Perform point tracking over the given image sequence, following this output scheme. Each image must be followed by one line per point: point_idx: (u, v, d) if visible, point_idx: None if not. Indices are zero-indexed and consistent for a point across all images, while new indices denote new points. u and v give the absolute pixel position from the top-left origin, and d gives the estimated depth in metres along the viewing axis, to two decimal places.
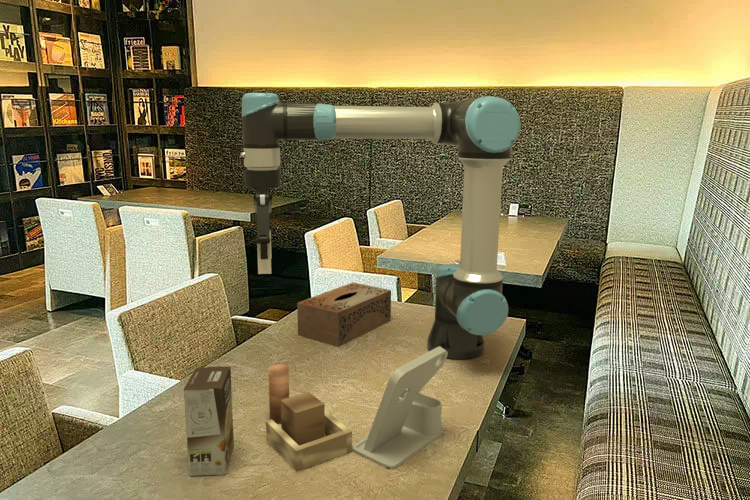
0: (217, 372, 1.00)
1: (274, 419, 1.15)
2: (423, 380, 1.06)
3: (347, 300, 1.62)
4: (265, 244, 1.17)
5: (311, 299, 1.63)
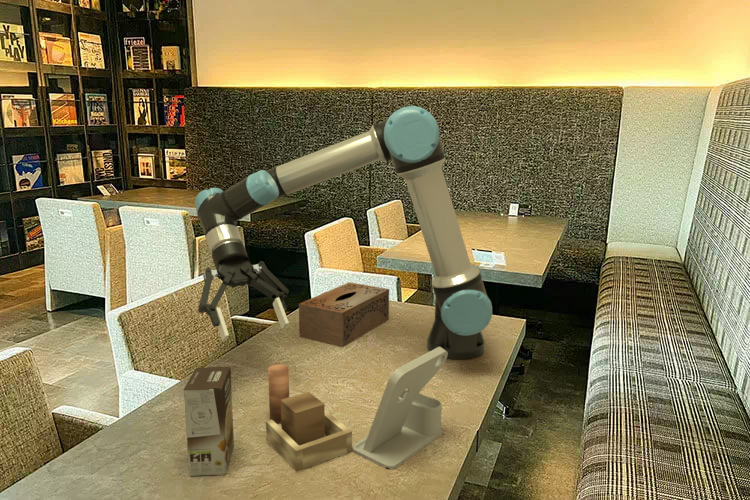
0: (217, 372, 1.00)
1: (274, 419, 1.15)
2: (423, 380, 1.06)
3: (348, 300, 1.62)
4: (209, 311, 1.19)
5: (312, 300, 1.62)
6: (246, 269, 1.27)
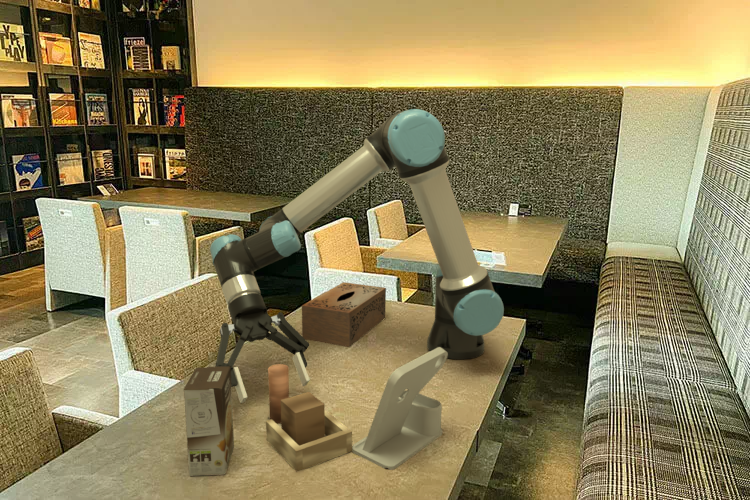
0: (217, 372, 1.00)
1: (274, 419, 1.15)
2: (423, 380, 1.06)
3: (350, 300, 1.62)
4: None
5: (313, 301, 1.61)
6: (264, 322, 1.20)
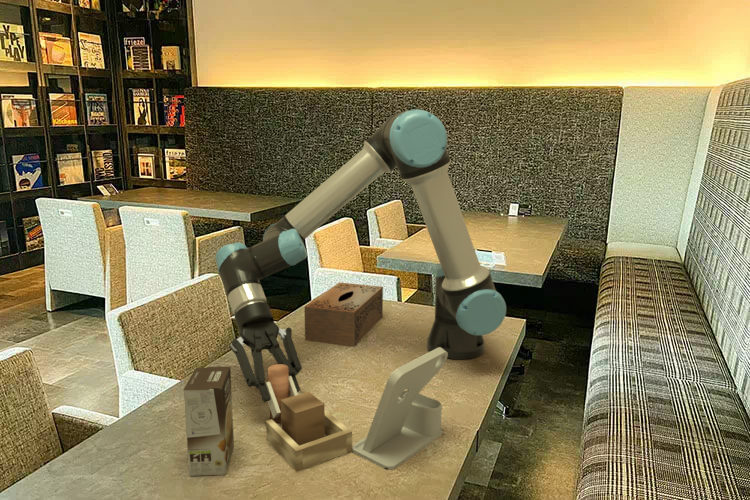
0: (217, 372, 1.00)
1: (274, 418, 1.15)
2: (423, 380, 1.06)
3: (351, 300, 1.62)
4: (259, 386, 1.13)
5: (315, 302, 1.60)
6: (270, 333, 1.19)
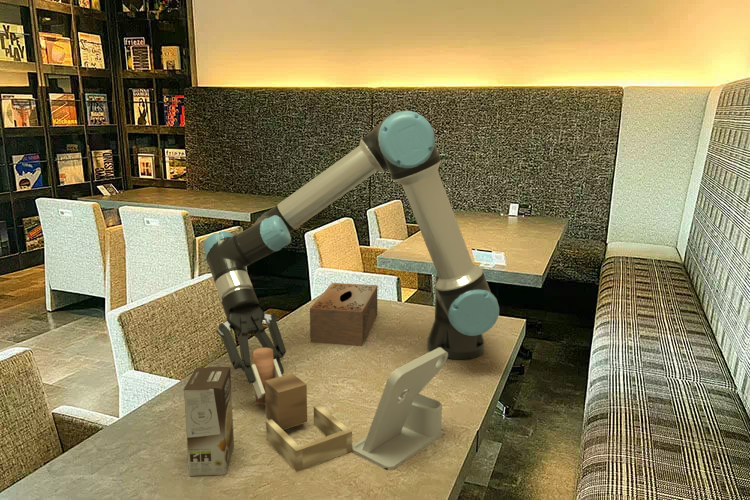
0: (217, 372, 1.00)
1: (260, 400, 1.19)
2: (423, 381, 1.06)
3: (353, 299, 1.63)
4: (244, 368, 1.18)
5: (318, 303, 1.59)
6: (256, 318, 1.24)
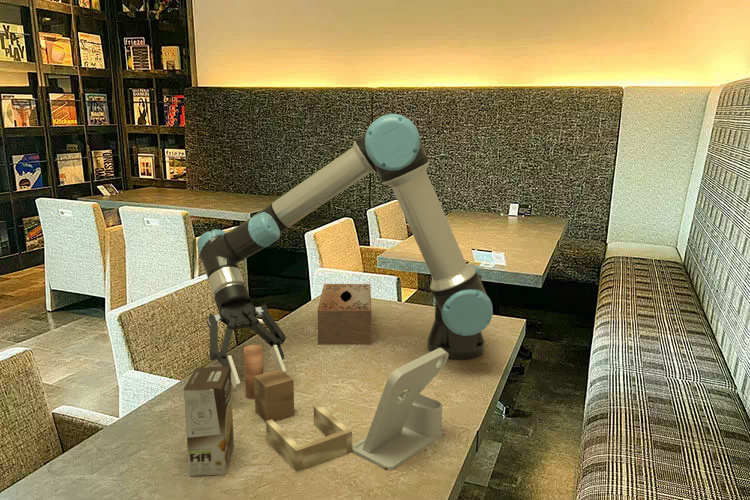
0: (217, 372, 1.00)
1: (250, 394, 1.24)
2: (423, 381, 1.06)
3: (355, 299, 1.63)
4: (220, 359, 1.21)
5: (323, 305, 1.58)
6: (248, 312, 1.28)
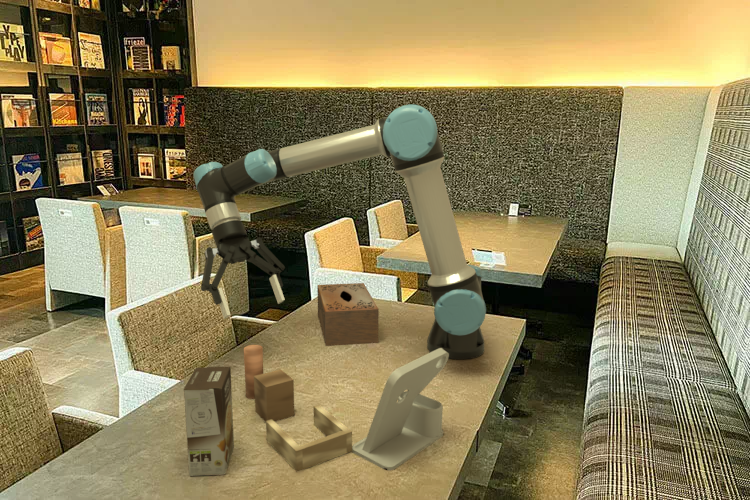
0: (217, 372, 1.00)
1: (250, 394, 1.24)
2: (423, 381, 1.06)
3: (357, 298, 1.64)
4: (211, 290, 1.28)
5: (328, 306, 1.57)
6: (245, 247, 1.34)
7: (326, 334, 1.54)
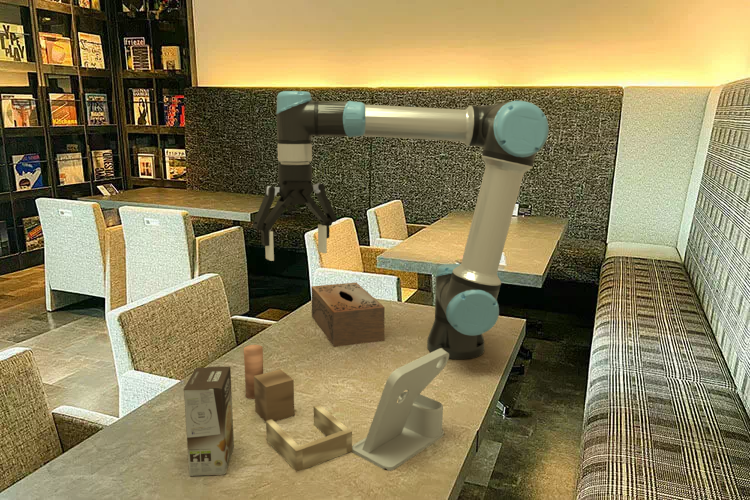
0: (217, 372, 1.00)
1: (250, 394, 1.24)
2: (423, 381, 1.06)
3: (358, 298, 1.64)
4: (262, 232, 1.26)
5: (333, 306, 1.56)
6: (306, 194, 1.29)
7: (334, 335, 1.53)
